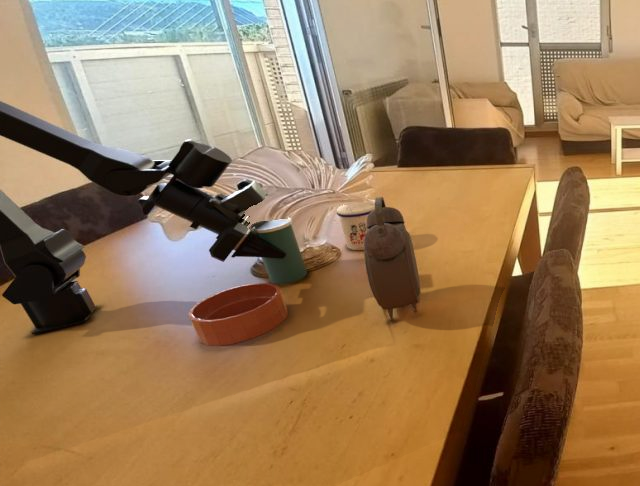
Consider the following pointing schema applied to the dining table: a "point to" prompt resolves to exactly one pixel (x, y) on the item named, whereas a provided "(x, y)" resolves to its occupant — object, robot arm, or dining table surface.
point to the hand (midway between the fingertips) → (288, 249)
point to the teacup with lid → (355, 223)
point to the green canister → (286, 241)
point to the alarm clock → (390, 259)
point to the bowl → (238, 314)
